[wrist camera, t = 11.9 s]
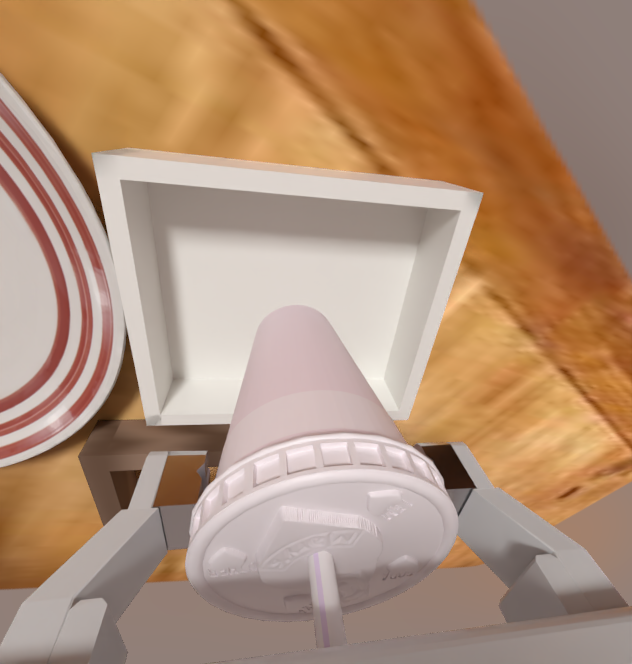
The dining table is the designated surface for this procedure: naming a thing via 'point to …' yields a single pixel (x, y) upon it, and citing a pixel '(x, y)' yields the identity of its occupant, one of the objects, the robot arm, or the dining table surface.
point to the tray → (274, 269)
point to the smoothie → (314, 490)
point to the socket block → (138, 456)
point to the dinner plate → (50, 292)
